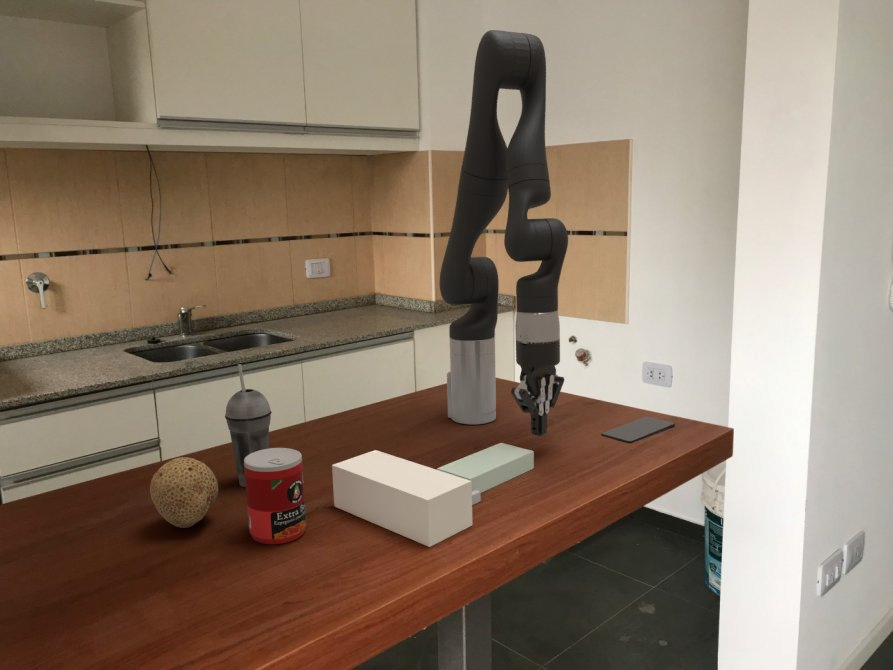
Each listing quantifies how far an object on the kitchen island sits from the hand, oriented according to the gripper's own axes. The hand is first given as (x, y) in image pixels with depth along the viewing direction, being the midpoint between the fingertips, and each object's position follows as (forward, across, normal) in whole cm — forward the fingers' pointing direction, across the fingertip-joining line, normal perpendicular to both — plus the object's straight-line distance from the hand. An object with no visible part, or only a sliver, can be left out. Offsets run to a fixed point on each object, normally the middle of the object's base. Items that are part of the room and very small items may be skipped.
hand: (539, 434), depth 127 cm
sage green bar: (+4, +14, -1) cm, 14 cm away
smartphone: (+4, -23, +6) cm, 25 cm away
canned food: (+4, +47, -10) cm, 49 cm away
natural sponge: (+4, +54, -22) cm, 59 cm away
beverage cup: (+4, +39, -29) cm, 49 cm away
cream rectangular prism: (+4, +28, -1) cm, 29 cm away
